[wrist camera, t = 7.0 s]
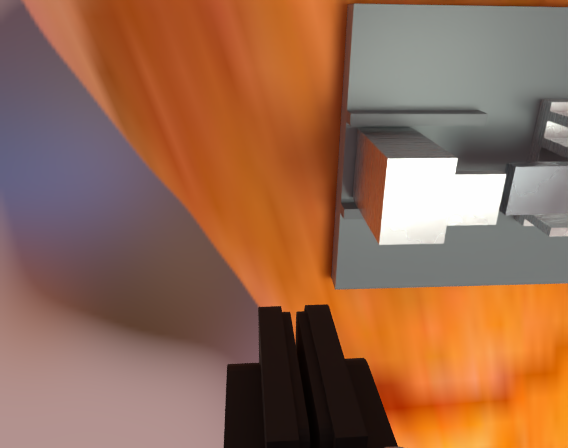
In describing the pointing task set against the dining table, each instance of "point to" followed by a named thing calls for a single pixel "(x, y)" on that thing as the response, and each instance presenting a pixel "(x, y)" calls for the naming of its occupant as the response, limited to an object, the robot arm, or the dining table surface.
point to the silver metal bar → (535, 188)
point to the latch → (418, 188)
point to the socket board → (450, 132)
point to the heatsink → (549, 158)
